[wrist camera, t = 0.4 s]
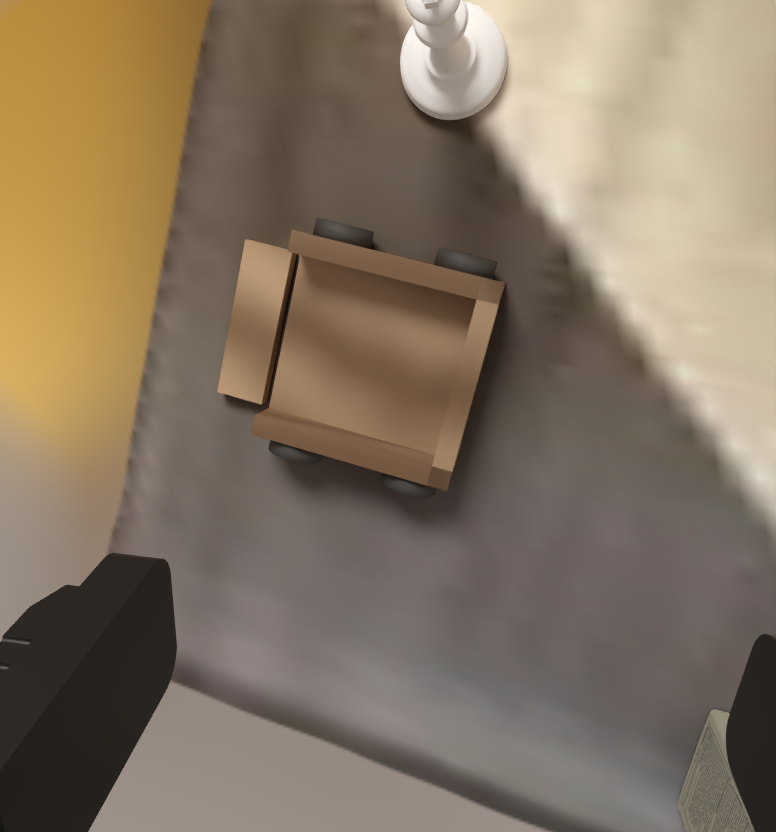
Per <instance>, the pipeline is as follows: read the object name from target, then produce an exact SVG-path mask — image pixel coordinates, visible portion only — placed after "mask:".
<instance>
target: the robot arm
mask: <svg viewBox="0 0 776 832" xmlns="http://www.w3.org/2000/svg"><path fill="white" fill-rule="evenodd" d="M176 651H177V642H176V630H175V618H174V607H173V595H172V583H171V573H170V568H169V565H168V563H167V561H166V560H164V559H159V558H151V557H142V556H134V555H126V554H118V553H111V554H109V555H107V556H106V557H105V558H104V559H103V560H102V561H101V562H100V563H99V565H98V566H97V567H96V568H95V569H94V570H93V571H92V573H91V574H90V575H89V576H88V577H87V578H86V580H85V581H84V582H83V583H82V584H81V585H80V586H71V585H65V586H64V587H62V588H60V589H58V590H57V591H55V592H54V593H52V594H50V595H49V596H47V597H45V598H44V599H42V600H40V601H39V602H37V603H36V604H34V605H32V606H30V607H29V608H28V609H27V610H26V611H25V612H24V614H23V615H22V616H21V617H20V618H19V619H18V620H17V621H16V622H15V623H14V624H13V625H12V626H11V627H10V628H9V630H8V631H7V632H6V633H5V634H4V635H3V638H2V641H1V642H0V832H88V831H89V829H90V827H91V825H92V823H93V822H94V820H95V818H96V816H97V815H98V813H99V811H100V809H101V807H102V805H103V804H104V802H105V800H106V798H107V796H108V795H109V793H110V791H111V789H112V787H113V786H114V784H115V782H116V780H117V778H118V777H119V775H120V773H121V771H122V769H123V768H124V766H125V764H126V762H127V760H128V758H129V757H130V755H131V753H132V751H133V749H134V748H135V746H136V744H137V742H138V740H139V738H140V737H141V735H142V733H143V731H144V729H145V728H146V726H147V724H148V722H149V721H150V719H151V717H152V715H153V713H154V711H155V710H156V708H157V706H158V704H159V702H160V700H161V699H162V697H163V695H164V693H165V691H166V689H167V687H168V685H169V683H170V680H171V677H172V673H173V670H174V665H175V660H176ZM726 751H727V758H728V763H729V767H730V770H731V773H732V776H733V778H734V781H735V783H736V786H737V788H738V791H739V793H740V796H741V798H742V801H743V803H744V806H745V808H746V811H747V813H748V816H749V818H750V821H751V823H752V826H753V829H754V831H755V832H776V635H770V634H763V635H761V636H759V637H758V638H757V640H756V641H755V643H754V645H753V648H752V650H751V653H750V656H749V659H748V662H747V665H746V668H745V671H744V674H743V677H742V680H741V682H740V685H739V688H738V691H737V694H736V697H735V700H734V703H733V706H732V709H731V712H730V715H729V718H728V721H727V727H726Z"/></svg>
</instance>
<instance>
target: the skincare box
mask: <svg viewBox="0 0 776 832" xmlns="http://www.w3.org/2000/svg"><path fill="white" fill-rule="evenodd" d="M729 715H730V713H727V712H724V711H720V710H717V709H713V710H711V711H710V713H709V716H708V718H707V721H706V724H705V726H704V729H703V731H702V734H701V737H700V739H699V742H698V745H697V748H696V751H695V753H694V756H693V759H692V762H691V765H690V767H689V770H688V773H687V776H686V779H685V782H684V785H683V788H682V791H681V795H680V798H679V801H678V808H679V811H680V814H681V817H682V821H683V824H684V827H685V831H686V832H755V831H754V829H753V826H752V823H751V821H750V818H749V816H748V813H747V811H746V808H745V806H744V803H743V801H742V798H741V796H740V793H739V791H738V788H737V786H736V783H735V781H734V778H733V776H732V773H731V770H730V767H729V763H728V758H727V751H726V727H727V721H728V718H729Z"/></svg>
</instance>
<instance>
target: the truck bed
mask: <svg viewBox="0 0 776 832" xmlns="http://www.w3.org/2000/svg"><path fill="white" fill-rule="evenodd" d="M373 235H374V232H372V231H368V230H365V229H361V228H357V227H353V226H349V225H345V224H341V223H337V222H333V221H329V220H325V219H320V218H316V222H315V227H314V232H313V235H312V234H308V233H303V232H299V231H295V230H292V231H291V236H290V241H289V246H288V249H284V248H280V247H276V246H272V245H268V244H264V243H260V242H256V241H253V240H247V239H245V245H244V250H243V255H242V261H241V266H240V272H239V277H238V282H237V288H236V293H235V299H234V304H233V309H232V315H231V320H230V326H229V331H228V336H227V342H226V347H225V353H224V358H223V363H222V369H221V374H220V380H219V385H218V390H217V392H219V393H223V394H226V395H230V396H233V397H237V398H240V399H244V400H247V401H251V402H254V403H258V404H261V405H262V404H264V403H266V402H267V399H268V394H269V389H270V384H271V379H272V374H273V369H274V365H275V360H276V355H277V350H278V345H279V340H280V335H281V330H282V325H283V320H284V315H285V310H286V306H287V301H288V296H289V291H290V286H291V281H292V276H293V271H294V266H295V261H296V256H297V254H299V255H300V259H299V264H298V269H297V274H296V279H295V284H294V288H293V293H292V298H291V303H290V308H289V313H288V318H287V323H286V328H285V332H284V337H283V342H282V347H281V352H280V357H279V362H278V367H277V371H276V376H275V381H274V386H273V391H272V396H271V401H270V406H269V408H268V409H266V410H264V411H262V412H260V413H258V414H256V415H255V416H254V421H253V426H252V431H251V434H252V435H255V436H258V437H262V438H265V439H269V440H270V444H269V450H270V451H271V452H272V453H273V454H275V455H276V456H279V457H281V458H284V459H287V460H290V461H295V462H301V463H316V462H319V461H321V460H322V458H323V456H327V457H330V458H334V459H337V460H341V461H344V462H347V463H351V464H354V465H358V466H361V467H365V468H368V469H371V470H375V471H378V472H382V475H381V482H382V483H383V484H384V485H385V486H386V487H388V488H390V489H392V490H394V491H396V492H399V493H402V494H406V495H410V496H416V497H429V496H432V495H434V493H435V489H436V488H437V489H440V490H443V491H447V490H448V487H449V484H450V481H451V478H452V475H453V471H454V467H455V464H456V460H457V457H458V453H459V449H460V446H461V442H462V439H463V435H464V431H465V428H466V424H467V420H468V417H469V413H470V410H471V406H472V402H473V399H474V395H475V392H476V388H477V384H478V381H479V377H480V374H481V370H482V366H483V363H484V359H485V356H486V352H487V348H488V345H489V341H490V338H491V334H492V330H493V327H494V323H495V319H496V316H497V312H498V309H499V305H500V301H501V298H502V294H503V291H504V287H505V282H501V281H497V280H493V276H494V273H495V269H496V265H497V262H495V261H491V260H487V259H484V258H480V257H476V256H472V255H468V254H464V253H460V252H455V251H451V250H447V249H442V248H438V252H437V256H436V260H435V264H434V265H432V264H428V263H424V262H420V261H416V260H412V259H408V258H404V257H400V256H396V255H392V254H388V253H384V252H380V251H376V250H372V249H370V248H371V243H372V239H373Z"/></svg>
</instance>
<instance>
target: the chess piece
mask: <svg viewBox="0 0 776 832" xmlns="http://www.w3.org/2000/svg"><path fill="white" fill-rule="evenodd" d="M405 3H406V6H407V9H408V11H409V13H410V14H411V16H412V17H413V25H412V26H411V28H410V29H409V31H408V33H407V35H406V37H405V40H404V42H403V46H402V50H401V57H400V68H401V77H402V82H403V85H404V88H405V90H406V92H407V94H408V96H409V98H410V99H411V101H412V102H413V103H414V104H415V105H416V106H417V107H418V108H419V109H420V110H421V111H423V112H424V113H426V114H428V115H430V116H432V117H434V118H438V119H442V120H458V119H463V118H466V117H469V116H471V115H474V114H475V113H477V112H479V111H480V110H482V109H483V108H484V107H485V106H487V105H488V104H489V103H490V102H491V101H492V99H493V98H494V97H495V96H496V94H497V93H498V91H499V89H500V87H501V85H502V83H503V80H504V77H505V74H506V69H507V60H508V56H507V47H506V42H505V39H504V36H503V34H502V32H501V30H500V28H499V26H498V25H497V23H496V21H495V20H494V19H493V18H492V17H491V15H490V14H488V13H487V12H486V11H485V10H483V9H482V8H480V7H478V6H476V5H474V4H471V3H468V2H465V1H464V0H405Z"/></svg>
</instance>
